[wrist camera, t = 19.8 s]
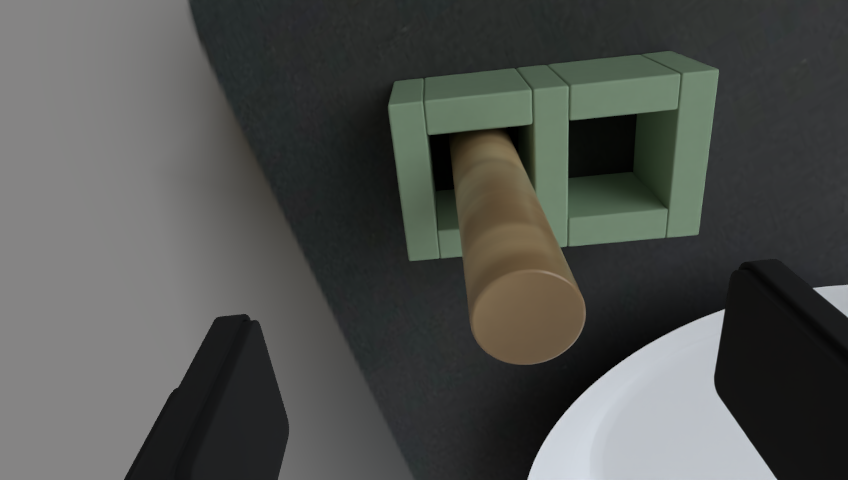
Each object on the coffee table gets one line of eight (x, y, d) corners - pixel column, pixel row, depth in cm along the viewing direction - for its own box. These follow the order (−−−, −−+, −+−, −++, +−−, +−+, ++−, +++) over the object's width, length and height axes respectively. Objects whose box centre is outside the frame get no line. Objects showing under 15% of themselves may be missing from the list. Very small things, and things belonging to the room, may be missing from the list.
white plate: (511, 590, 37) (519, 650, 34) (513, 258, 26) (526, 302, 22) (900, 576, 36) (947, 636, 33) (1079, 226, 25) (1176, 267, 22)
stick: (452, 168, 24) (475, 371, 12) (445, 113, 23) (465, 277, 11) (508, 162, 24) (586, 360, 12) (505, 106, 23) (587, 264, 11)
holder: (411, 218, 25) (408, 262, 21) (393, 80, 22) (387, 104, 19) (658, 194, 24) (698, 235, 21) (671, 50, 22) (720, 69, 18)
